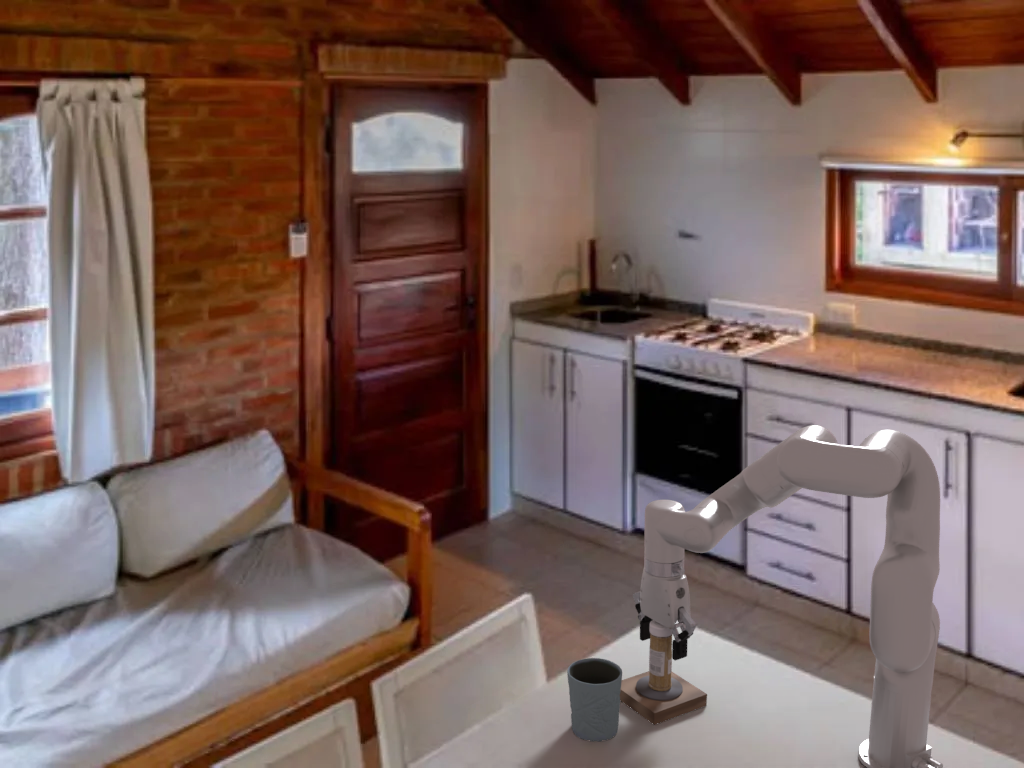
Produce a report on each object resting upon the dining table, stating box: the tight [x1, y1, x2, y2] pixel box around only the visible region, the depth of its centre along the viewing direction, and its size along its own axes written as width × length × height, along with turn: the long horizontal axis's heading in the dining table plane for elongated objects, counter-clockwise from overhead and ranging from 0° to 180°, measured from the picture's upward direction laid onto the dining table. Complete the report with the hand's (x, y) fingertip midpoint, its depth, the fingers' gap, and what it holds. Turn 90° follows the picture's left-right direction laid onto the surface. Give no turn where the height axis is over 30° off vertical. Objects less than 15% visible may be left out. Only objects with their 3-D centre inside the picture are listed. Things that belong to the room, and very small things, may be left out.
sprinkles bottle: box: [648, 620, 673, 691], centre depth 210 cm, size 5×5×13 cm
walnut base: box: [620, 670, 708, 726], centre depth 212 cm, size 13×13×3 cm
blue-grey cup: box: [566, 657, 623, 742], centre depth 201 cm, size 10×10×12 cm
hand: (663, 648), depth 209 cm, fingers open, 9 cm apart
